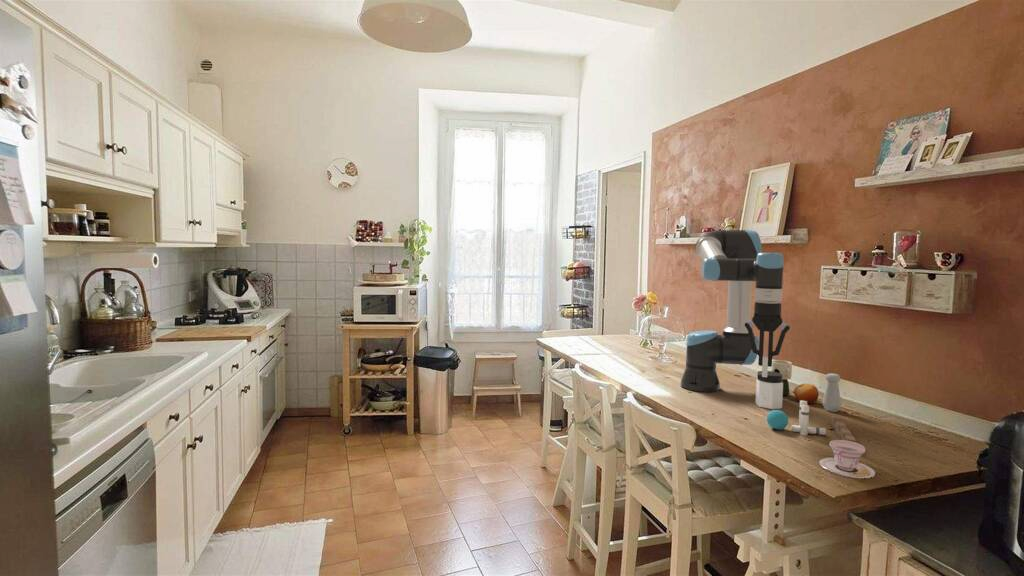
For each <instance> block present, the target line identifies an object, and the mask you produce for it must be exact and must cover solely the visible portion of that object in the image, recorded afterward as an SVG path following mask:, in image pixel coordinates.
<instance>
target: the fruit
mask: <svg viewBox="0 0 1024 576" xmlns="http://www.w3.org/2000/svg"><path fill="white" fill-rule="evenodd" d="M793 393H794V396H795V398H796V399H797V400H798V401H799V402H800V401H801V400H802V401H807V405H809V404H817V402H818V399H819V396H820V395H819V389H818V387H817V386H815V384H812V383H802V384H799V385H797V386H796V387H795V388H794V390H793Z"/></svg>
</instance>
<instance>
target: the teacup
mask: <svg viewBox="0 0 1024 576" xmlns="http://www.w3.org/2000/svg"><path fill="white" fill-rule="evenodd" d="M828 445H829V447H830V448H831V449H832V450H831V451H832V452H833V457H824V458H821V459H820V460H819V462H818V463H819V466H820V467H822V468H823V469H824V470H826V471H827V472H831V473H833V474H836V475H839V476H842V477H846V478H852V479H862V478H863V479H862V480H864V478H866V479H871V477H872V478H874V477H875V475H876V472H875V470H874V469H873V468H871V467H870V466H868V465H867V464H863V463H861V462H859V461H860V459H861V458H862V455H864V454H865V452H866V447H865V446H864V445H862V444H860V443H858V442H857V443H855V442H851V441H846V440H841V439H834V440H831V441H829V442H828ZM836 466H837V467H838V468H837V467H836ZM860 466H861V467H860ZM862 467H863V468H866V469H867V470H868V471H869V472H870V473H871V474H870V475H869V476H865V477H855V476H853V474H854V473H859V472H860V471H861V469H860V468H862ZM855 469H856V470H857V471H856V472H853V471H854V470H855ZM859 469H860V470H859Z"/></svg>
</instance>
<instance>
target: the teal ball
mask: <svg viewBox="0 0 1024 576" xmlns="http://www.w3.org/2000/svg"><path fill="white" fill-rule="evenodd" d="M766 422H767V424H768V425H769V426H770V427H771V428H772V429H775V430H778V431H779V430H784V429H785V428H786V427H788V424H789V417H788V416H787V414H786V413H785V412H784V411H782V410H780V409H772V410H770V411H769V412H768V414H767V415H766Z"/></svg>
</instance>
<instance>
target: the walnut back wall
mask: <svg viewBox="0 0 1024 576" xmlns="http://www.w3.org/2000/svg"><path fill="white" fill-rule="evenodd" d="M831 426H832V428H833V429H834V430H835V432H836V434H837V435H838V437H839V440H846V441H851V442H855V443H858V441H857V439H856V438H855V436H854V434H852V432H851V431H850V429H849V428H848V426H847V425H846V423H845V422H844V420H843V419H842V417H841V416H839V415H831Z"/></svg>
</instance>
